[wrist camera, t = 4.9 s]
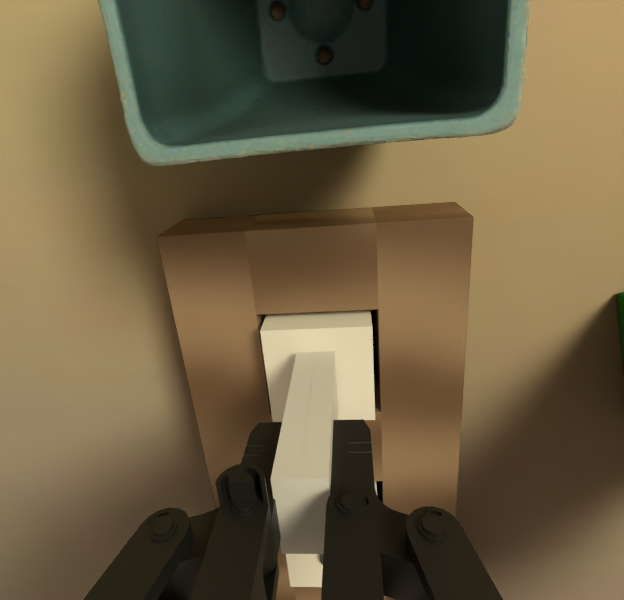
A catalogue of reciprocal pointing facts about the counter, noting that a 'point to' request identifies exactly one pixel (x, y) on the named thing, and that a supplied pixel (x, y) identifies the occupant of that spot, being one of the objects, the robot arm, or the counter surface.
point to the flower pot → (311, 73)
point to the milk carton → (621, 320)
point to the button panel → (321, 298)
